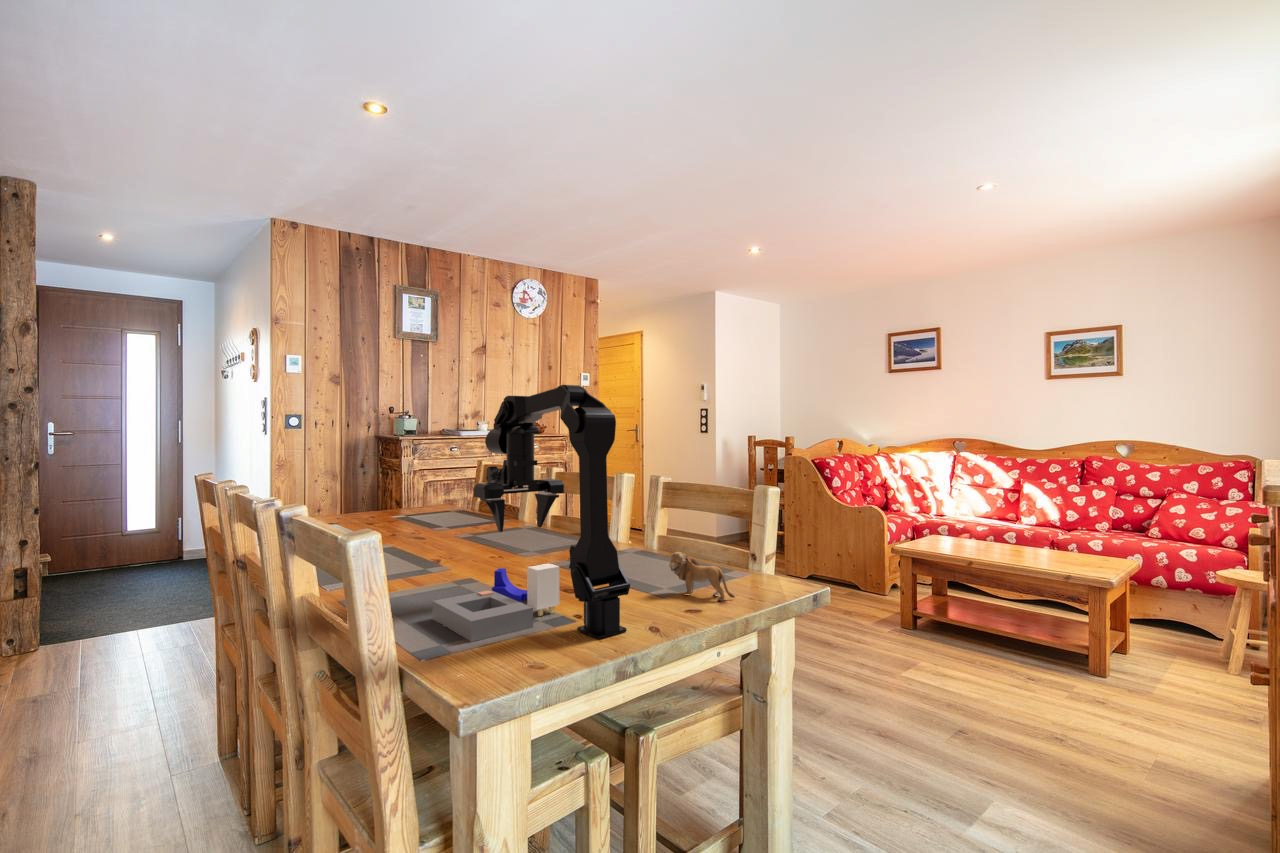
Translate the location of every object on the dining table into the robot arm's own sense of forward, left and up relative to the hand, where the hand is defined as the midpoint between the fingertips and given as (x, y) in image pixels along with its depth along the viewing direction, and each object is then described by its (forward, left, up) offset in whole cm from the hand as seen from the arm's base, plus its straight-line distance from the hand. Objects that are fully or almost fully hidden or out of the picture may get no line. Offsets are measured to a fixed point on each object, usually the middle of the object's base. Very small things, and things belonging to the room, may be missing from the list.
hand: (520, 529), depth 133 cm
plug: (-12, +2, -14) cm, 19 cm away
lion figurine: (-23, -30, -15) cm, 41 cm away
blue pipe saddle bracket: (-1, 0, -15) cm, 15 cm away
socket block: (-10, +14, -14) cm, 22 cm away
